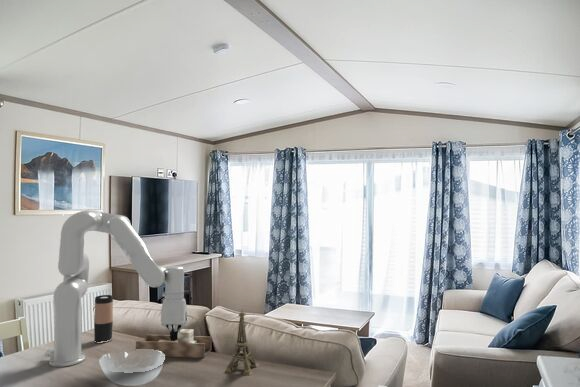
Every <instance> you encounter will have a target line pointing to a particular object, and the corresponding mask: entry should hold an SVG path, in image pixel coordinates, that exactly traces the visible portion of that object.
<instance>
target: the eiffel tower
mask: <svg viewBox="0 0 580 387" xmlns="http://www.w3.org/2000/svg"><path fill="white" fill-rule="evenodd" d="M245 316H246V312H245V311H244V312H243V310H241V311H240V312H239V313H238V317H239V322H238V323H239V324H238V330H237V331H238V332H237V340H236V342H234V343H235V344H234V345H235V349H234V353H233V354H232V359H231V360H230V361H229V363H228V365H227V366H226V368H225V369H224V371H222V373H223V374H231V373H232V372H233V371H234V366H239V365H240V364H241V362H242V364H243V370H244V372H243V376H252V374H253V373H254V371H252V368H258V367H259V366H260V363H258V362H257V360H256V359H255V358H254V357H253V356H252V354H251V351H250V349H249V345H248V344H249V340H247V334H246V324H245ZM241 349H242V351H241ZM248 362H249V363H250V365H249V363H248Z"/></svg>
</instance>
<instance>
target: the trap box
mask: <svg viewBox="0 0 580 387" xmlns="http://www.w3.org/2000/svg"><path fill="white" fill-rule="evenodd" d="M136 349H154V350H159V351H162V352H163V353H164V354H165V355H166V356H165V357H169V358H170V357H175V358H177V357H178V358H196V359H198V358H199V359H202V358H203V359H205V358H206V356H208V354H209V353H210V352H211V351H212V336H207V335H206V336H202V335H201V336H200V335H198V336H197V335H194V337H193V342H192V343H181V342H178V338H177V340H176V341H171V338H170V334H169V335H168V334H145V338H144V339H143V340H136V341H135V350H136Z"/></svg>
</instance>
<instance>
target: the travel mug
mask: <svg viewBox="0 0 580 387" xmlns="http://www.w3.org/2000/svg"><path fill="white" fill-rule="evenodd" d="M113 314H114V296H113V295H112V294H104V295H103V294H101V295H96V296H95V298H94V319H93V320H94V322H93V324H94V325H93V326H94V329H93V330H94V333H93V334H94V342H95V341H96V342H101V341H107V340H110V339H111V338H112V339H113V322H114V321H113V320H114V315H113Z"/></svg>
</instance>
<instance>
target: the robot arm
mask: <svg viewBox="0 0 580 387" xmlns="http://www.w3.org/2000/svg"><path fill="white" fill-rule="evenodd" d="M60 231H61V232H60V239H59V251H58V253H59V254H58V263H57V265H58V266H57V269H58V271H59V273H60V274H61V276H63V279H62V280H63V281H61V282H60V283H59V284H58V286H56V287H55V289H54V292H53V308H54V309H53V310H54V327H53V328H54V330H53V331H54V332H53V333H54V334H53V340H54V341H53V349H52V348H51V349H50V348H48V349H46V352H45V354H44V355H45V356H46V357H50V359H48V360H49V361H48V364H49V365H50V366H51V367H54V368H55V367H59V368H61V367H62V368H64V367H68V366H69V367H70V366H73V365H76V364H79V363H82V362H83V361H85V359H86V354H84V353H83V352H82V330H83V328H82V327H83V308H82V298H83V297H84V296H85V295H86V294H87V292H88V288H89V274H90V273H89V272H90V259H89V257H88V255H87V253H85V252H84V249H85V248H84V247H85V234H86V233H88V232H99V233H105V234H109V235H110V236H111V238H112V239H113V240H114V242H115V243H116V244H117V245H118V246H119V248H120V249H121V250H122V252H123V253H124V254H125V256H126V257H127V259H128V261H129V263H131V265H132V266H133V268H134V270H135V271H136V273H137V274H138V276H140V278H141V279H142V280H143V281H144V283H145V284H146V285H147V286H149V287H150V288H158V287H160V286H161V285H163V283H164V284H165V289H164V291H165V292H162V294H161V296H162V297H164V299H162V304H161V305H162V306H161V309H160V324H161V326H162V327H166V328H167V330H168V331H169V335H170V338H171V341H176V340H177V338H178V332H179V331H180V330H181V329H182V328H185V327H186V326H188V323H187V321H188V308H187V303H186V302H187V301H186V298H185V269H184V267H183V266H180V265H172V266H162V265H158V264H156V262H155V260H154V259H153V258H152V257H151V255H150V253H149V251H148V248H147V246H146V243H145V242H144V240H143V239H142V237H141V236H139V233H137V231H136V230H135V229H134V227H133V226H132V223H131V220H130V219H129V218H128V217H127V216H126V215H121V214H116V213H115V214H114V213H109V212H108V213H107V212H103V211H98V210H91V209H90V210H89V209H87V210H81V211H78V212H75V213H74V214H71V215H70V216H69V217H68V218H67V219H66V220H65V222H63V224H62V227H61V230H60Z"/></svg>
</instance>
